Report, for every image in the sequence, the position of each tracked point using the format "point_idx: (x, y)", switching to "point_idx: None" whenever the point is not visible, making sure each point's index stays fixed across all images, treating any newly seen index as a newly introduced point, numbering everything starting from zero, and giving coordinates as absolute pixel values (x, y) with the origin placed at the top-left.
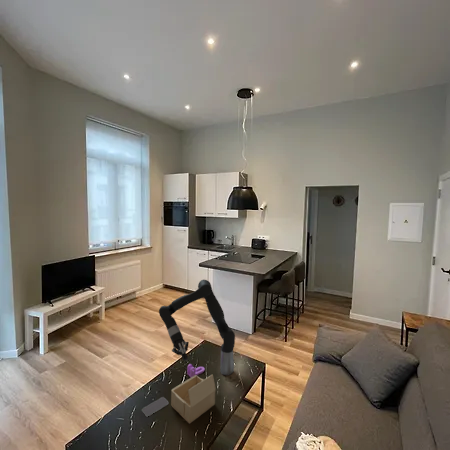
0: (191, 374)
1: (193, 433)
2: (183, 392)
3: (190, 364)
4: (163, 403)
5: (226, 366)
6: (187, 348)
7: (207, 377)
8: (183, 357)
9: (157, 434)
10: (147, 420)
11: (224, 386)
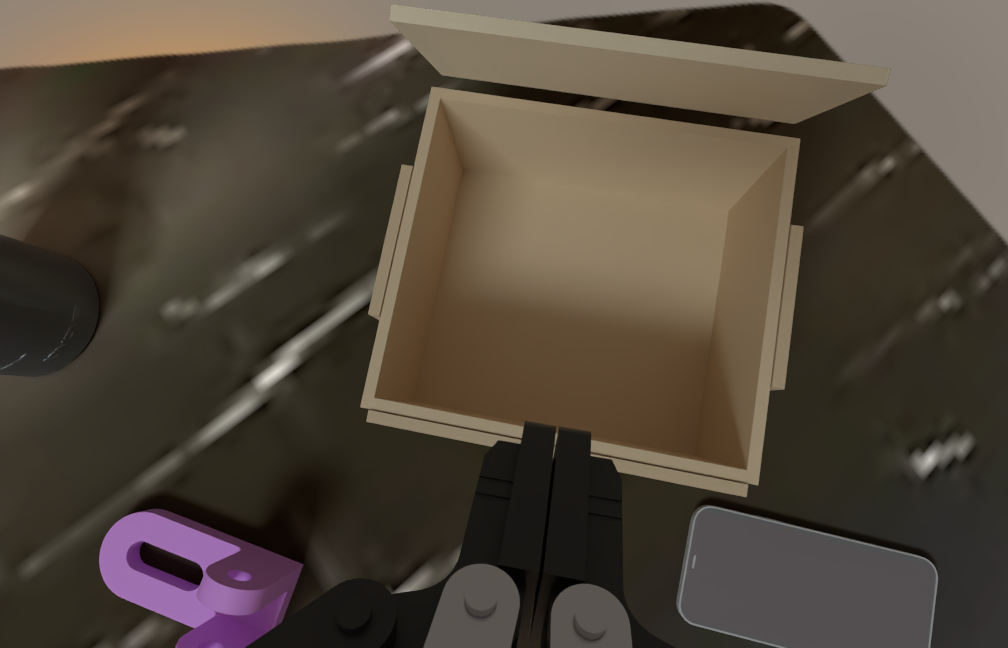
0: (281, 572)
1: (779, 128)
2: None
3: None
4: (735, 547)
5: (8, 256)
6: (288, 638)
7: (487, 31)
8: (621, 515)
9: (976, 346)
10: (951, 528)
11: (233, 215)
